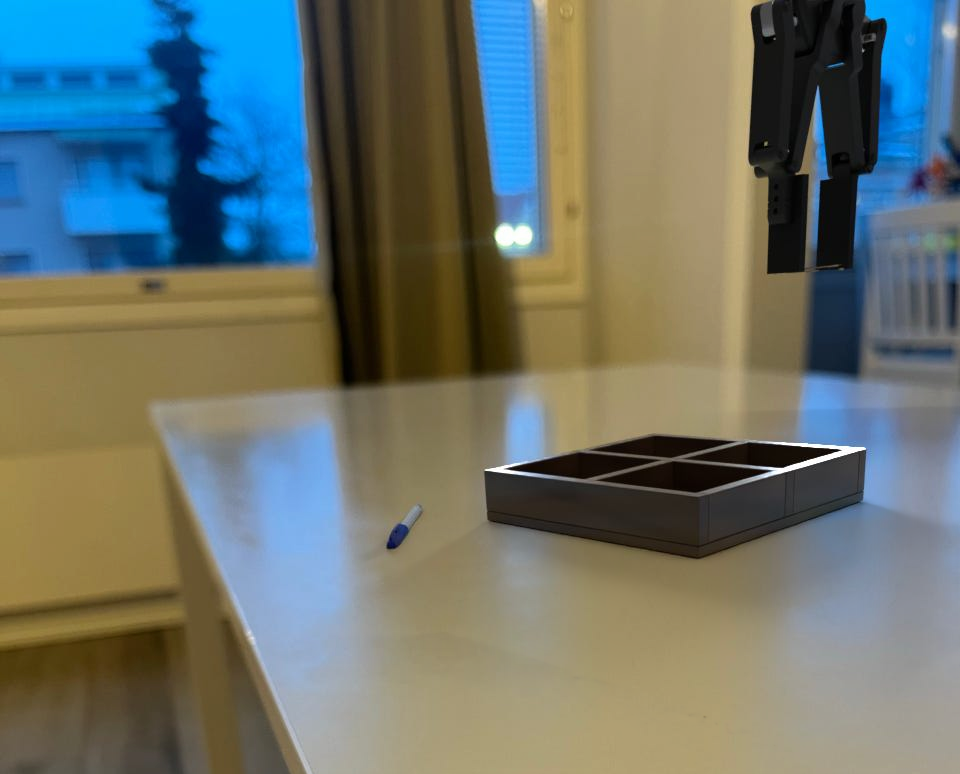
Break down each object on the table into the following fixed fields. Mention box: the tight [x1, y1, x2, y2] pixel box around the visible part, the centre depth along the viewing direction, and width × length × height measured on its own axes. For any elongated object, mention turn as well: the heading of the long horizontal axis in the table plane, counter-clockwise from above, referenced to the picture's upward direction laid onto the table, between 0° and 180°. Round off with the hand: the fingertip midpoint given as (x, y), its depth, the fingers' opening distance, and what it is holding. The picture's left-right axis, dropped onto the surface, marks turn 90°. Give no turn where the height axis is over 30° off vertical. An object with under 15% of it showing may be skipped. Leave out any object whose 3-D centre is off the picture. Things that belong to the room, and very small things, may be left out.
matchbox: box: [786, 265, 845, 274], centre depth 75 cm, size 5×5×1 cm
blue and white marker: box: [385, 504, 423, 550], centre depth 61 cm, size 10×1×1 cm, turn 176°
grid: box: [483, 432, 867, 559], centre depth 60 cm, size 16×16×3 cm
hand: (810, 270), depth 75 cm, fingers closed on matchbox, 6 cm apart
